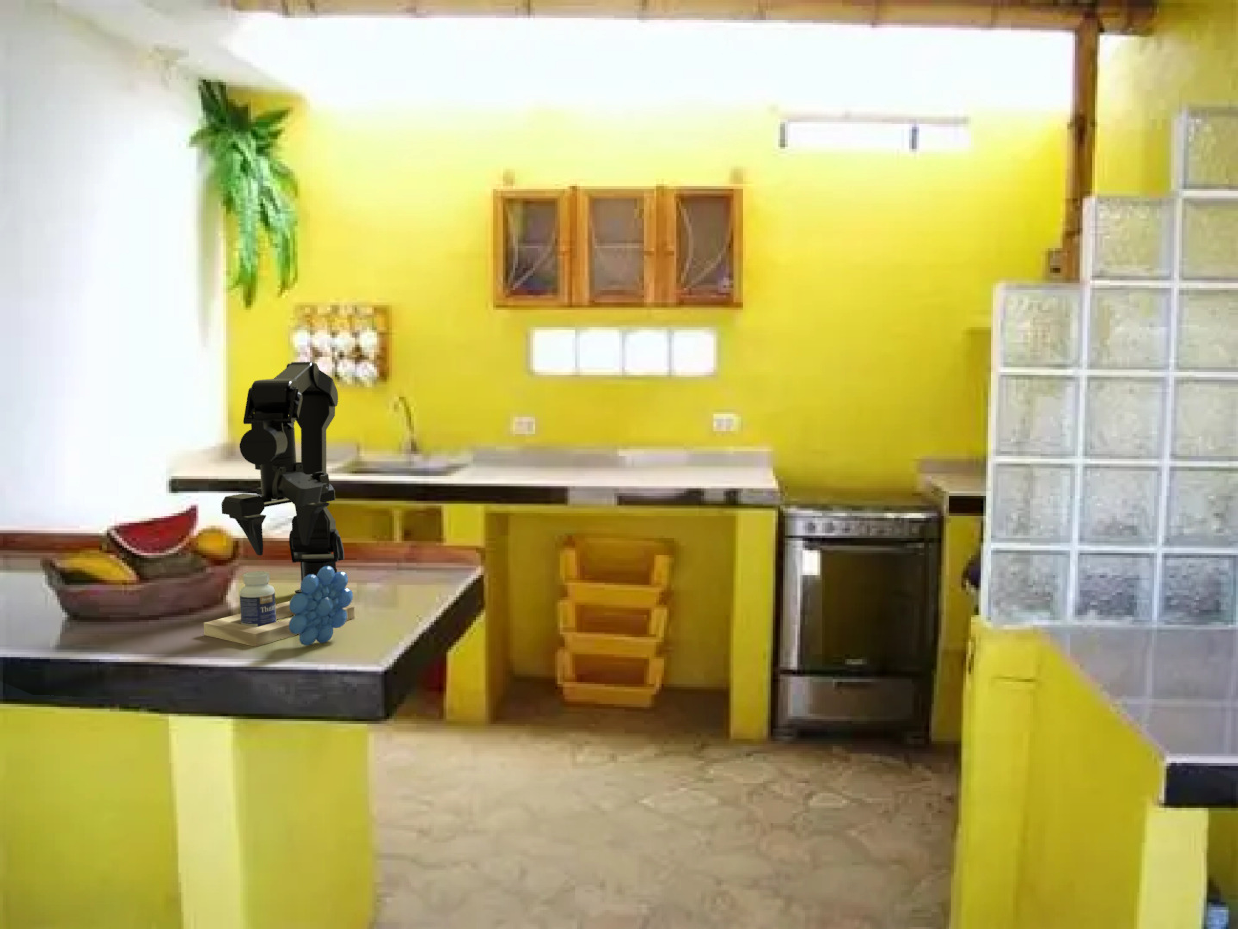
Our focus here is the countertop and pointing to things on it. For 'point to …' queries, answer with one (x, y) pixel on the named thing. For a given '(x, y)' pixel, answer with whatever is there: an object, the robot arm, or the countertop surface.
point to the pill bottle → (257, 600)
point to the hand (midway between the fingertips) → (283, 549)
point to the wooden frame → (260, 635)
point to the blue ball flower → (320, 606)
